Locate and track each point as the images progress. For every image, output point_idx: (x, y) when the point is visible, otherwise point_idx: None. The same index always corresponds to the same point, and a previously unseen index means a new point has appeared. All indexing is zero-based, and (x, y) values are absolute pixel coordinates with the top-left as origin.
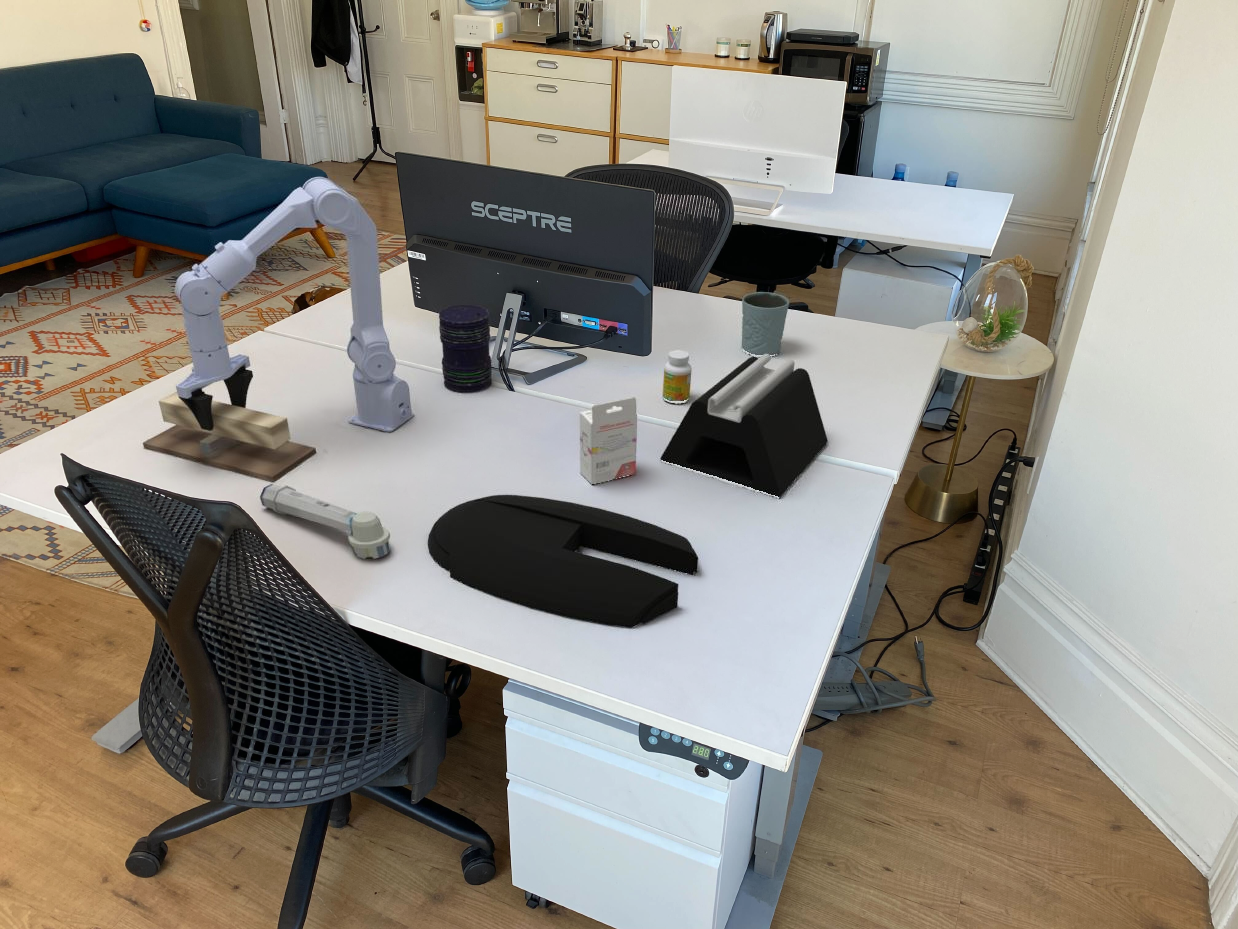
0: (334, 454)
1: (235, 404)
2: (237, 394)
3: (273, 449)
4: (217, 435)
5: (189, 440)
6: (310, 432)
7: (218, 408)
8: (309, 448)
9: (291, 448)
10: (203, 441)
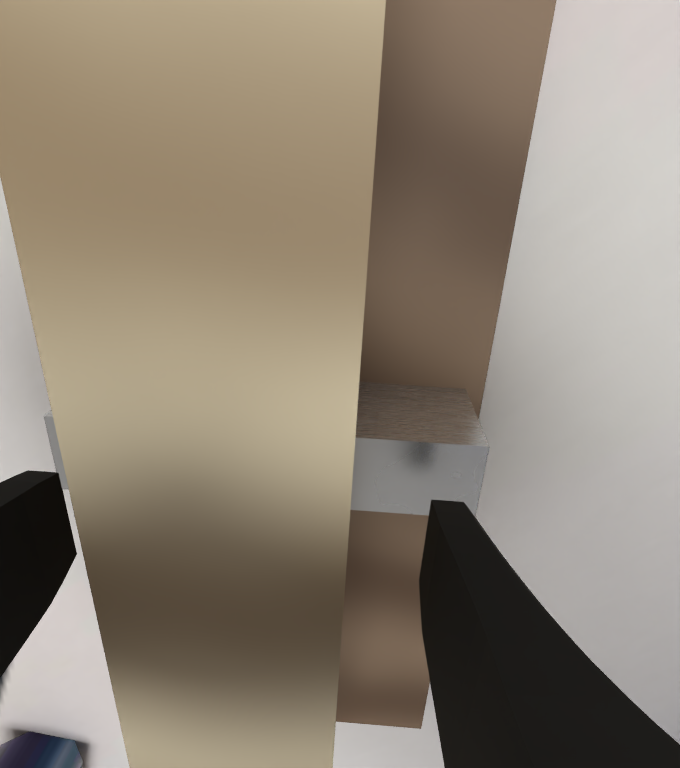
0: (430, 749)
1: (435, 577)
2: (456, 730)
3: None
4: None
5: None
6: (595, 613)
7: (214, 580)
8: (406, 715)
9: (380, 663)
10: (57, 440)
